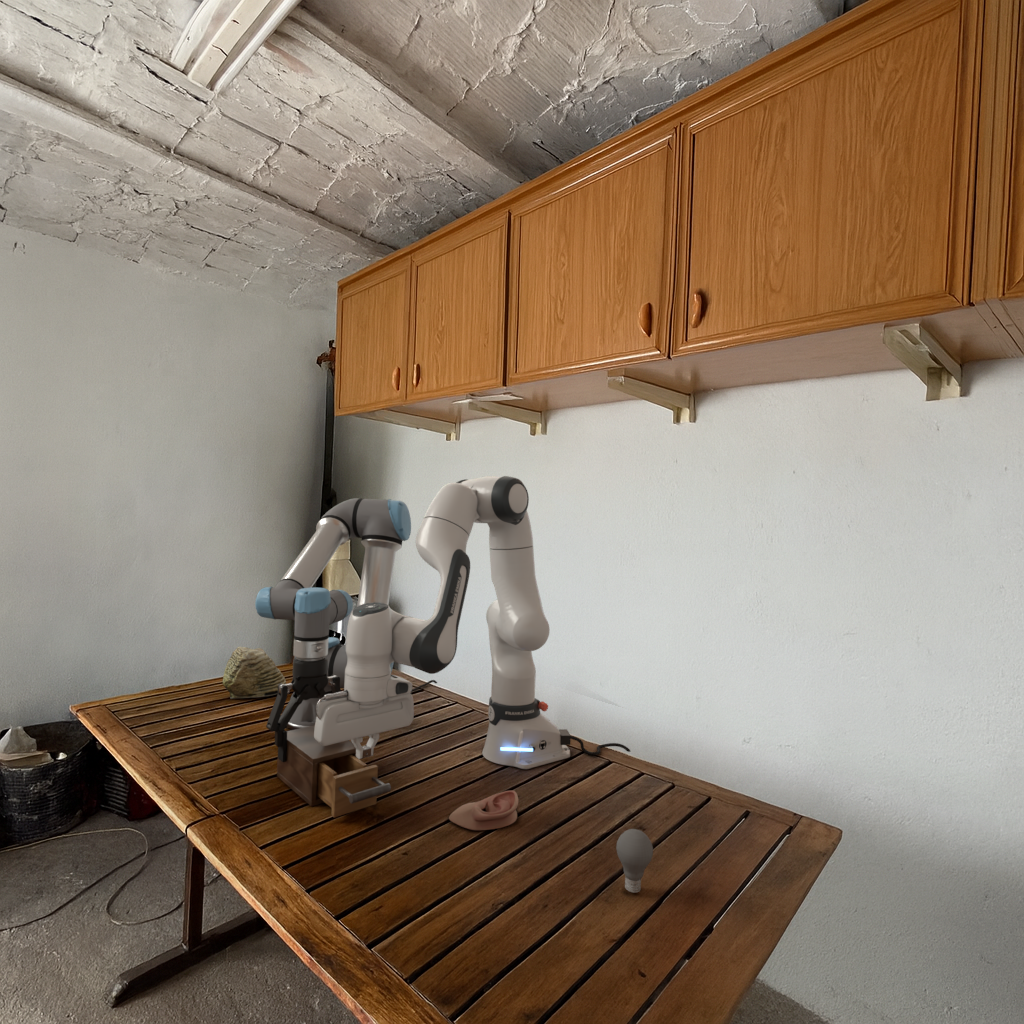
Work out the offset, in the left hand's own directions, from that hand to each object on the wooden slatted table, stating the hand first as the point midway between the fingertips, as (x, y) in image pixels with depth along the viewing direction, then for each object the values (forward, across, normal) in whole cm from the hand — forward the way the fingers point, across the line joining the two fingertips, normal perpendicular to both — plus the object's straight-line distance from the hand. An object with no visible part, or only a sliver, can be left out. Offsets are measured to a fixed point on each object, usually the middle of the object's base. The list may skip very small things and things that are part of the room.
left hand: (307, 753), depth 143 cm
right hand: (-8, 0, -26) cm, 27 cm away
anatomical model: (+5, +20, -39) cm, 44 cm away
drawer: (+4, 0, -18) cm, 18 cm away
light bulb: (+5, +24, -73) cm, 77 cm away
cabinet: (+5, 0, -5) cm, 7 cm away
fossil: (+5, +11, +63) cm, 65 cm away
